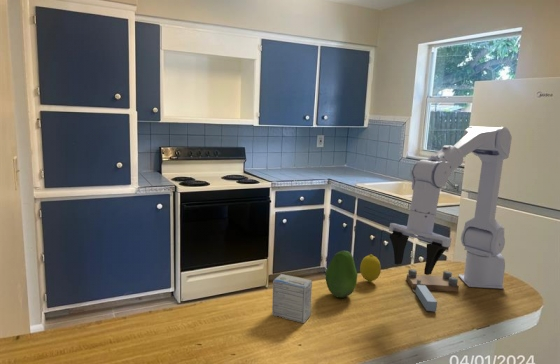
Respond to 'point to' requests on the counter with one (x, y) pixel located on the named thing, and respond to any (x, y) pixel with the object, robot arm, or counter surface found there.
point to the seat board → (434, 281)
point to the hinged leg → (426, 298)
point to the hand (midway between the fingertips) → (412, 268)
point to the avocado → (341, 274)
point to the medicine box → (292, 298)
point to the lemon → (370, 268)
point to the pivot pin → (416, 285)
